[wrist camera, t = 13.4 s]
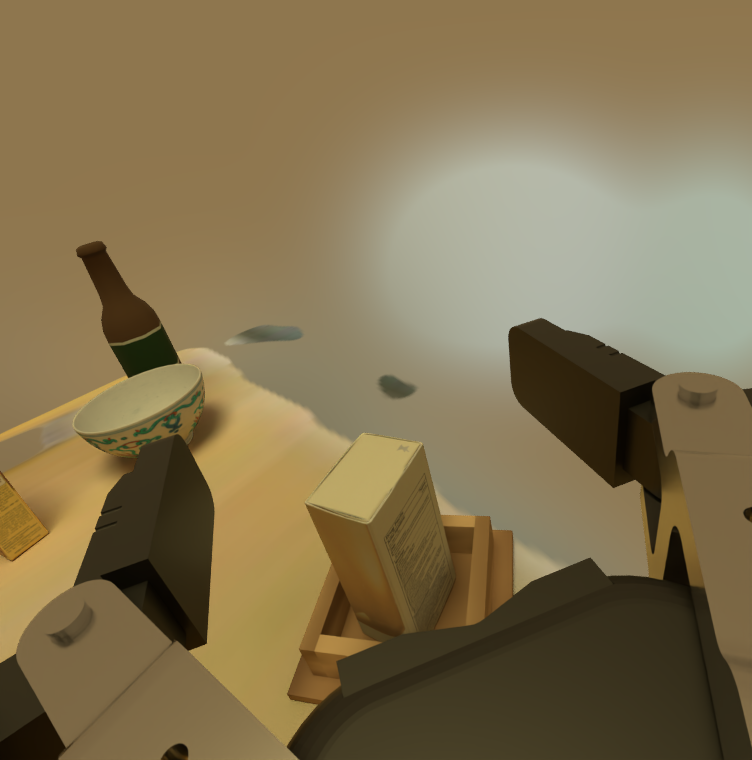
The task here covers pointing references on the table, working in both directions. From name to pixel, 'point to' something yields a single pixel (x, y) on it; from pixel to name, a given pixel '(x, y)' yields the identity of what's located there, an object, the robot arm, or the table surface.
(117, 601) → the robot arm
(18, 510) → the candy box
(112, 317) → the beer bottle
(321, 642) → the holder
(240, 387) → the table surface
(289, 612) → the table surface
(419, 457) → the skincare box
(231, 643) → the table surface
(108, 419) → the chinaware
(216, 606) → the table surface
